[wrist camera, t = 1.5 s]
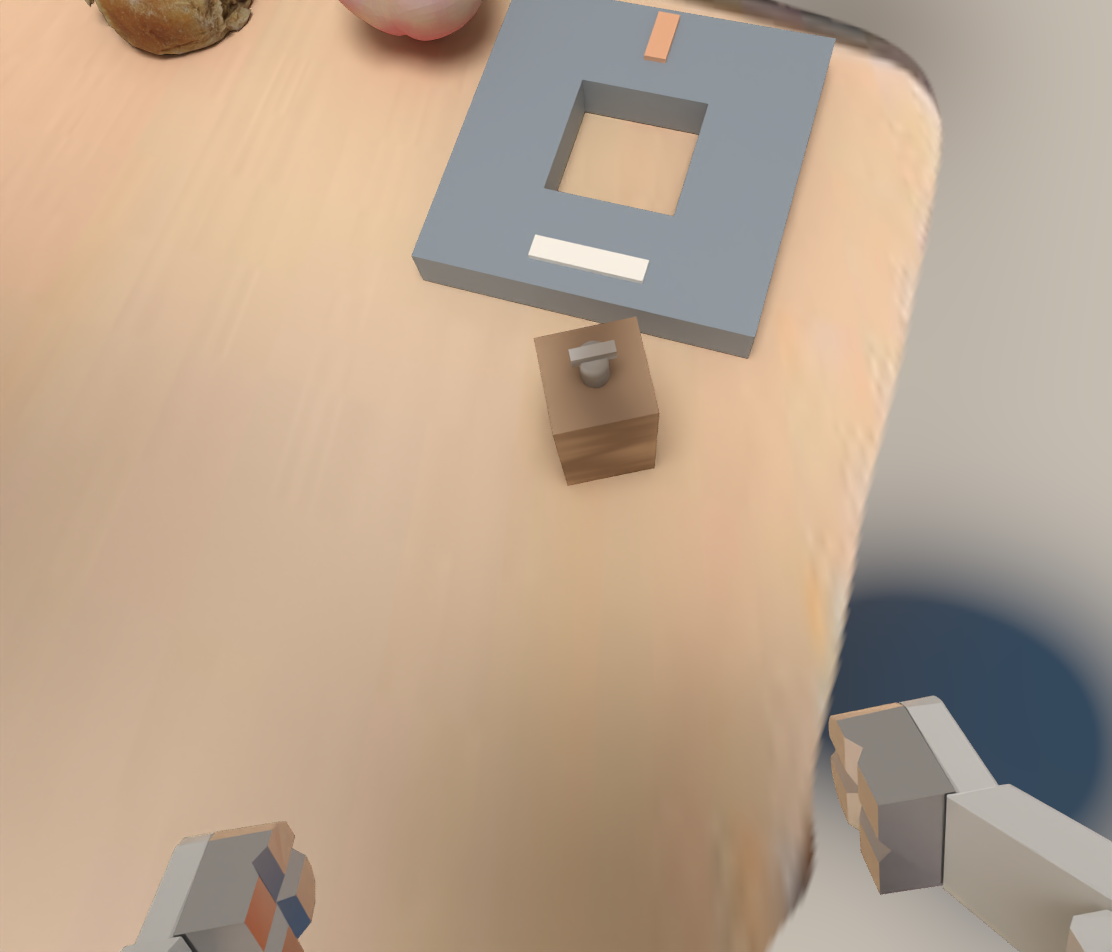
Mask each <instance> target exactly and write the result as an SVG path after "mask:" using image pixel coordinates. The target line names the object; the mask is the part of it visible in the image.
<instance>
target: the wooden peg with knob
mask: <svg viewBox="0 0 1112 952" xmlns="http://www.w3.org/2000/svg"><path fill="white" fill-rule="evenodd" d="M534 342H535V347H536V352H537V357H538V362H539V367H540V372H541V377H542V382H543V387H544V392H545V397H546V403H547V408H548V413H549V418H550V423H551V428H552V433H553V437H554V440H555V444H556V447H557V450H558V454H559V457H560V461H561V464H562V467H563V471H564V474H565V477H566V481H567V484H568V486H569V485H574V484H578V483H583V482H588V481H593V480H598V479H603V478H608V477H612V476H617V475H622V474H627V473H632V472H637V471H642V470H646V469H651V468H654V465H655V454H656V443H657V433H658V422H659V409H658V405H657V401H656V397H655V393H654V388H653V384H652V380H651V376H650V372H649V368H648V363H647V359H646V355H645V351H644V347H643V342H642V338H641V334H640V330H639V326H638V322H637V317H631V318H626V319H622V320H617V321H612V322H608V323H603V324H598V325H594V326H589V327H584V328H580V329H575V330H570V331H565V332H561V333H556V334H551V335H547V336H542V337H537V338H534Z"/></svg>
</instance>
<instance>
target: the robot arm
mask: <svg viewBox="0 0 1112 952" xmlns="http://www.w3.org/2000/svg"><path fill="white" fill-rule="evenodd" d="M829 735H830V738H831V740H832V742H833V744H834V747H835V749H836V751H835V752H834V753H833V754H832V756H831V765H832V775H833V779H834V784H835V788H836V792H837V795H838V798H839V801H840V804H841V807H842V809H843V812H844V814H845V816H846V819H847V821H848V823H849V824H850V825H851V826H853V827H855V828H856V829H857V830H859V831H860V846H861V853H862V855H863V858H864V860H865V862H866V864H867V866H868V869H869V871H870V873H871V875H872V877H873V880H874V882H875V884H876V886H877V889H878V891H879V893H880V895H881V894H887V893H894V892H900V891H907V890H913V889H921V888H928V887H934V886H941V885H943V889H944V890H946V891H947V892H948V893H949V894H950V895H952V896H953V897H954V898H955V899H956V900H958V901H959V902H960V903H961V904H962V905H964V906H965V907H966V908H967V909H968V910H970V911H971V912H972V913H973V914H975V915H976V916H977V917H978V918H979V919H981V920H982V921H983V922H984V923H985V924H987V925H988V926H989V927H990V928H992V929H993V930H994V931H995V932H996V933H998V934H999V935H1000V936H1001V937H1002V938H1004V939H1005V940H1006V941H1007V942H1008V943H1010V944H1011V945H1012V946H1013V947H1014V948H1016V949H1017V950H1018V951H1019V952H1112V841H1110V840H1108V839H1106V838H1104V837H1103V836H1101V835H1099V834H1097V833H1096V832H1094V831H1092V830H1090V829H1089V828H1087V827H1085V826H1083V825H1081V824H1080V823H1078V822H1076V821H1074V820H1073V819H1071V818H1069V817H1067V816H1066V815H1064V814H1062V813H1060V812H1059V811H1057V810H1055V809H1053V808H1051V807H1050V806H1048V805H1046V804H1044V803H1043V802H1041V801H1039V800H1037V799H1035V798H1034V797H1032V796H1030V795H1028V794H1027V793H1025V792H1023V791H1021V790H1020V789H1018V788H1016V787H1014V786H1012V785H1011V784H1005V785H998V784H997V782H996V781H995V779H994V778H993V776H992V775H991V773H990V772H989V770H988V769H987V768H986V766H985V764H984V763H983V762H982V760H981V759H980V757H979V756H978V754H977V753H976V751H975V750H974V748H973V747H972V745H971V744H970V742H969V741H968V739H967V738H966V736H965V735H964V733H963V732H962V731H961V729H960V727H959V726H958V724H957V723H956V721H955V720H954V718H953V717H952V715H951V714H950V712H949V711H948V710H947V708H946V706H945V705H944V703H943V702H942V701H941V700H940V699H939V698H937V697H936V696H930V697H924V698H919V699H914V700H909V701H904V702H900V703H899V704H898V703H892V704H887V705H882V706H877V707H872V708H867V709H862V710H857V711H852V712H847V713H842V714H838V715H833V716H830V719H829ZM294 838H295V835H294V833H293V832H292V830H291V829H290V827H289V825H288V824H287V822H274V823H268V824H262V825H256V826H250V827H244V828H237V829H231V830H225V831H219V832H215V833H209V834H203V835H198V836H192V837H186V838H184V839H183V840H182V841H181V842H180V843H179V844H178V845H177V846H176V848H175V849H174V852H173V854H172V856H171V859H170V861H169V864H168V866H167V868H166V871H165V873H164V876H163V878H162V880H161V883H160V885H159V888H158V890H157V892H156V895H155V897H154V900H153V902H152V904H151V907H150V909H149V912H148V914H147V916H146V919H145V921H144V924H143V926H142V928H141V931H140V933H139V936H138V938H137V940H136V943H135V944H134V945H129V946H125V947H124V948H123V949H122V950H121V951H120V952H304V950H303V948H302V946H301V945H300V943H299V941H298V938H299V937H300V935H301V934H302V933H303V932H304V930H305V929H306V928H307V927H308V925H309V924H310V923H311V921H312V916H313V911H314V906H315V879H314V875H313V871H312V867H311V865H310V863H309V861H308V859H307V857H306V855H304V854H302V853H300V852H298V851H296V850H294V849H292V846H293V842H294Z"/></svg>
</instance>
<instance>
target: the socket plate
mask: <svg viewBox="0 0 1112 952" xmlns="http://www.w3.org/2000/svg"><path fill="white" fill-rule="evenodd" d="M835 40H836V39H834V38H828V37H823V36H817V35H811V34H805V33H799V32H794V31H788V30H782V29H776V28H771V27H765V26H759V25H753V24H748V23H742V22H736V21H730V20H725V19H719V18H713V17H707V16H702V15H696V14H690V13H684V12H679V11H673V10H667V9H661V8H655V7H650V6H644V5H638V4H632V3H627V2H621V1H615V0H512V1H511V3H510V6H509V8H508V11H507V13H506V16H505V19H504V21H503V24H502V26H501V29H500V31H499V34H498V36H497V39H496V41H495V44H494V47H493V49H492V52H491V54H490V57H489V59H488V62H487V64H486V67H485V70H484V72H483V75H482V77H481V80H480V82H479V85H478V87H477V90H476V92H475V95H474V98H473V100H472V103H471V105H470V108H469V110H468V113H467V115H466V118H465V121H464V123H463V126H462V128H461V131H460V133H459V136H458V138H457V141H456V143H455V146H454V149H453V151H452V154H451V156H450V159H449V161H448V164H447V166H446V169H445V172H444V174H443V177H442V179H441V182H440V184H439V187H438V189H437V192H436V194H435V197H434V200H433V202H432V205H431V207H430V210H429V212H428V215H427V217H426V220H425V223H424V225H423V228H422V230H421V233H420V235H419V238H418V240H417V243H416V245H415V248H414V251H413V253H412V258H413V260H414V262H415V264H416V266H417V268H418V270H419V272H420V274H421V276H422V278H423V280H426V281H430V282H434V283H438V284H442V285H447V286H451V287H455V288H459V289H463V290H467V291H471V292H475V293H480V294H484V295H488V296H492V297H496V298H500V299H504V300H508V301H513V302H517V303H521V304H525V305H529V306H533V307H537V308H541V309H546V310H550V311H554V312H558V313H562V314H566V315H570V316H574V317H579V318H583V319H587V320H591V321H595V322H599V323H608V322H612V321H617V320H622V319H626V318H631V317H637V322H638V326H639V330H640V333H645V334H649V335H653V336H657V337H661V338H665V339H669V340H673V341H678V342H682V343H686V344H690V345H694V346H698V347H702V348H706V349H711V350H715V351H719V352H723V353H727V354H731V355H735V356H739V357H744V358H748V356H749V353H750V350H751V347H752V344H753V341H754V338H755V335H756V331H757V328H758V324H759V320H760V317H761V313H762V309H763V305H764V302H765V298H766V294H767V291H768V287H769V283H770V280H771V276H772V272H773V269H774V265H775V261H776V257H777V254H778V250H779V246H780V243H781V239H782V235H783V232H784V228H785V224H786V221H787V217H788V213H789V209H790V206H791V202H792V198H793V195H794V191H795V187H796V184H797V180H798V176H799V173H800V169H801V165H802V161H803V158H804V154H805V150H806V147H807V143H808V139H809V136H810V132H811V128H812V125H813V121H814V117H815V113H816V110H817V106H818V102H819V99H820V95H821V91H822V88H823V84H824V80H825V76H826V73H827V69H828V65H829V62H830V58H831V54H832V51H833V47H834V43H835ZM585 112H589V113H594V114H599V115H604V116H609V117H614V118H619V119H624V120H629V121H634V122H639V123H644V124H649V125H654V126H659V127H664V128H669V129H674V130H679V131H684V132H689V133H694V134H699V137H698V140H697V143H696V146H695V150H694V153H693V156H692V159H691V162H690V166H689V169H688V172H687V175H686V179H685V182H684V185H683V188H682V192H681V195H680V198H679V201H678V205H677V208H676V211H675V214H674V216H670V215H665V214H661V213H656V212H652V211H647V210H642V209H638V208H633V207H629V206H624V205H619V204H615V203H610V202H605V201H601V200H596V199H592V198H587V197H582V196H578V195H573V194H568V193H564V192H559V191H557V190H558V187H559V184H560V181H561V179H562V176H563V173H564V170H565V167H566V164H567V161H568V159H569V156H570V153H571V150H572V147H573V144H574V142H575V139H576V136H577V133H578V130H579V127H580V124H581V122H582V119H583V116H584V113H585Z"/></svg>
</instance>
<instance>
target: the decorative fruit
mask: <svg viewBox="0 0 1112 952" xmlns="http://www.w3.org/2000/svg"><path fill="white" fill-rule="evenodd" d="M339 1H340V2H341V3H342V4H343V5H344V6H345V7H346V8H347V9H348V10H350V11H351V12H352V13H353V14H355V15H356V16H358V17H359V18H361V19H362V20H363V21H365V22H366V23H368V24H370V25H371V26H373V27H375V28H377V29H378V30H381V31H383V32H386V33H388V34H392V35H398V36H402V35H408V36H410V37H412V38H414V39H417V40H423V41H429V40H435V39H439V38H442V37H445V36H447V35H450V34H452V33H453V32H455V31H457V30H459V29H460V28H461V27H463V26H464V25H465V24H466V23H467V22H468V21H470V19H471V18H472V17H473V16H474V15H475V13H476V12H477V11H478V9H479V7H480V5H481V3H482V0H339Z"/></svg>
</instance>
